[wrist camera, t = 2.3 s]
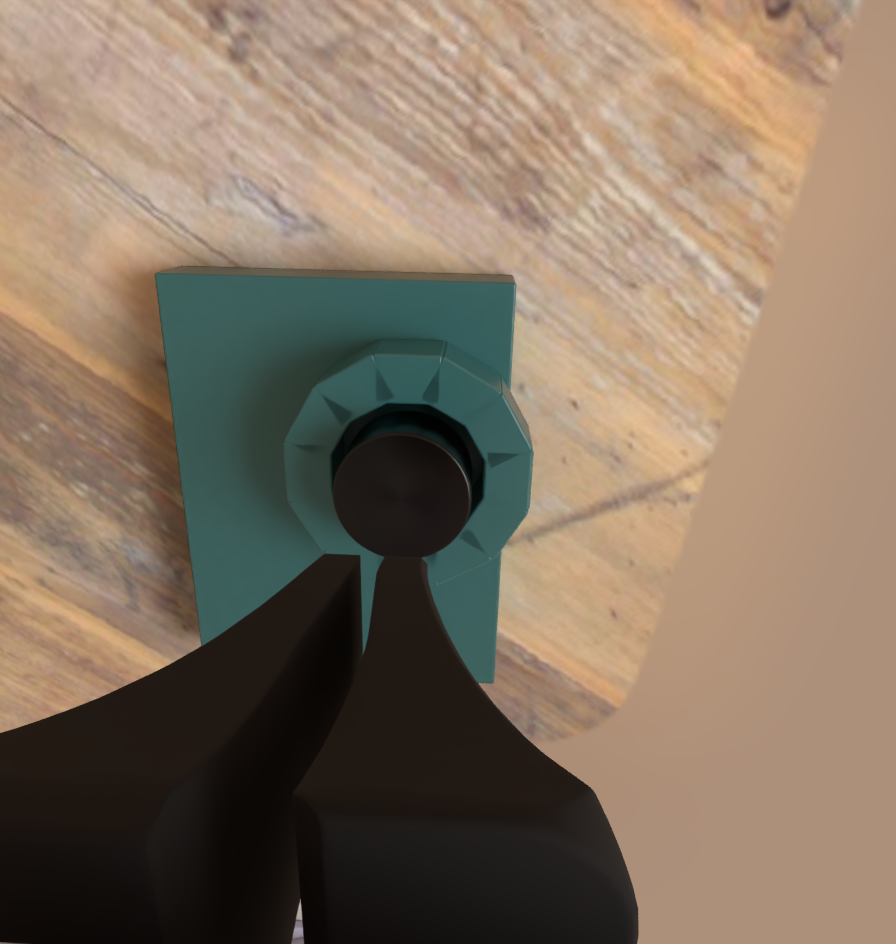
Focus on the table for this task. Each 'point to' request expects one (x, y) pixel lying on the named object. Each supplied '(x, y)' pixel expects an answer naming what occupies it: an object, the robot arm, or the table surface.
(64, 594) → the table surface
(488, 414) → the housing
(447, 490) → the button
